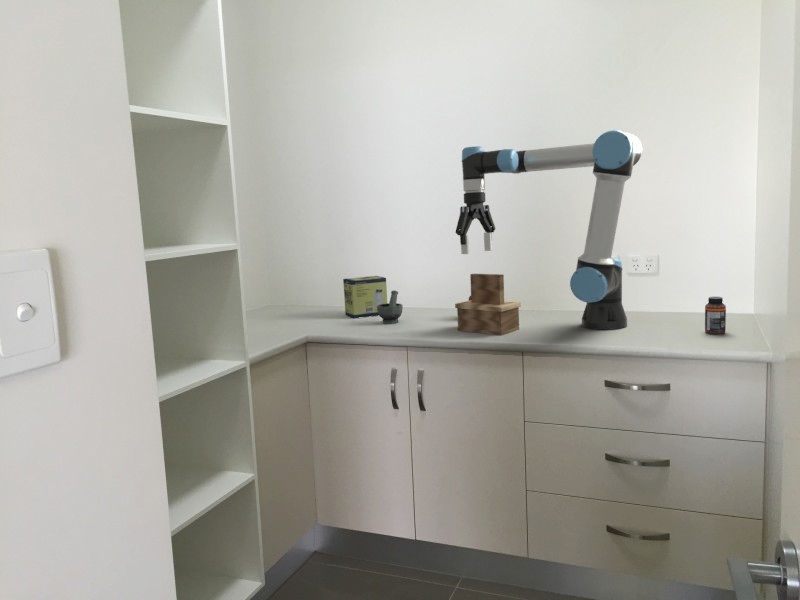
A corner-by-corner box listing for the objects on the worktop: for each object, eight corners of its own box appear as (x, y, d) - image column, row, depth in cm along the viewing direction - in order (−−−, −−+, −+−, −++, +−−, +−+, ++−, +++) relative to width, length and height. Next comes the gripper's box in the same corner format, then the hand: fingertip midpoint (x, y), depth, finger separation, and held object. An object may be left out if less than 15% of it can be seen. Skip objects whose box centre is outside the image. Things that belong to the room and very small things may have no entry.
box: (519, 329, 233) (518, 306, 232) (501, 335, 225) (501, 311, 224) (476, 325, 245) (475, 303, 244) (458, 330, 237) (457, 308, 236)
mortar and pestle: (396, 325, 253) (394, 293, 251) (373, 324, 257) (372, 293, 255) (408, 320, 263) (406, 289, 261) (386, 319, 267) (385, 289, 265)
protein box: (344, 315, 282) (342, 278, 280) (378, 311, 289) (376, 275, 287) (353, 318, 273) (351, 280, 271) (388, 314, 279) (386, 277, 277)
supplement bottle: (707, 330, 217) (708, 295, 215) (727, 331, 213) (728, 296, 212) (702, 333, 212) (702, 298, 211) (722, 335, 209) (723, 299, 207)
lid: (520, 308, 232) (519, 273, 230) (501, 314, 223) (500, 277, 222) (475, 305, 245) (474, 271, 243) (455, 310, 236) (454, 275, 234)
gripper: (486, 191, 248) (489, 249, 251) (443, 193, 230) (446, 255, 233) (503, 190, 243) (505, 249, 246) (460, 192, 225) (463, 255, 228)
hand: (477, 252), depth 240 cm, fingers open, 13 cm apart
